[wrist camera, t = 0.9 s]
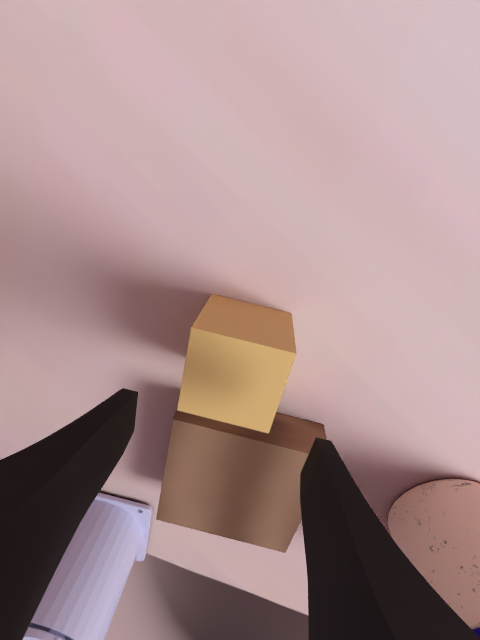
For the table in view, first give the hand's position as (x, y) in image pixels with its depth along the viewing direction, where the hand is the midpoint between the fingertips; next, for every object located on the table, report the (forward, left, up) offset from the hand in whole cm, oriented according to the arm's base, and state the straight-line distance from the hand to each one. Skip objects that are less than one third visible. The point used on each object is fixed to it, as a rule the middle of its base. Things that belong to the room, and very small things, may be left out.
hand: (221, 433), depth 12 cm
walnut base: (+2, -10, -8) cm, 13 cm away
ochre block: (0, 0, -8) cm, 8 cm away
